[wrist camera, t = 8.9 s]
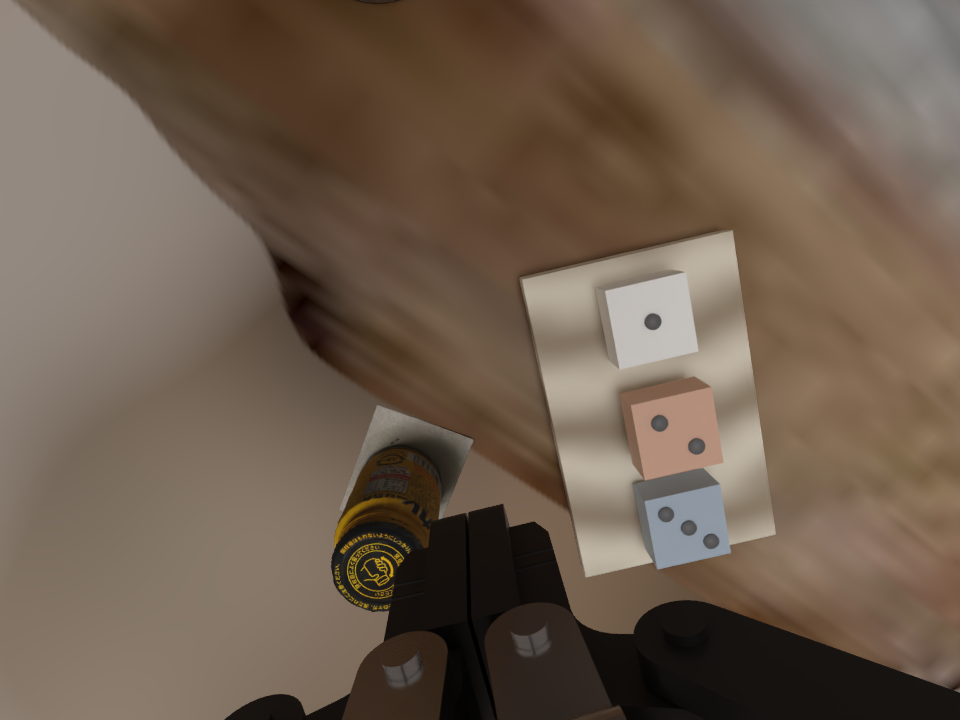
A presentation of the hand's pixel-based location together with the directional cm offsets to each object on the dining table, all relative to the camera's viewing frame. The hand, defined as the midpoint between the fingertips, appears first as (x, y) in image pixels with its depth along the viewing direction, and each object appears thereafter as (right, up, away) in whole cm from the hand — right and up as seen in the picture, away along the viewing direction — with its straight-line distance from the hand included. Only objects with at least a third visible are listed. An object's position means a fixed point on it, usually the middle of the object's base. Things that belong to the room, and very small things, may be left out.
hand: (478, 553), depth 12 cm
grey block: (+14, -7, +31) cm, 34 cm away
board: (+12, +1, +32) cm, 34 cm away
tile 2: (+12, 0, +28) cm, 31 cm away
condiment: (-5, -4, +33) cm, 33 cm away
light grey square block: (+11, +7, +28) cm, 31 cm away
